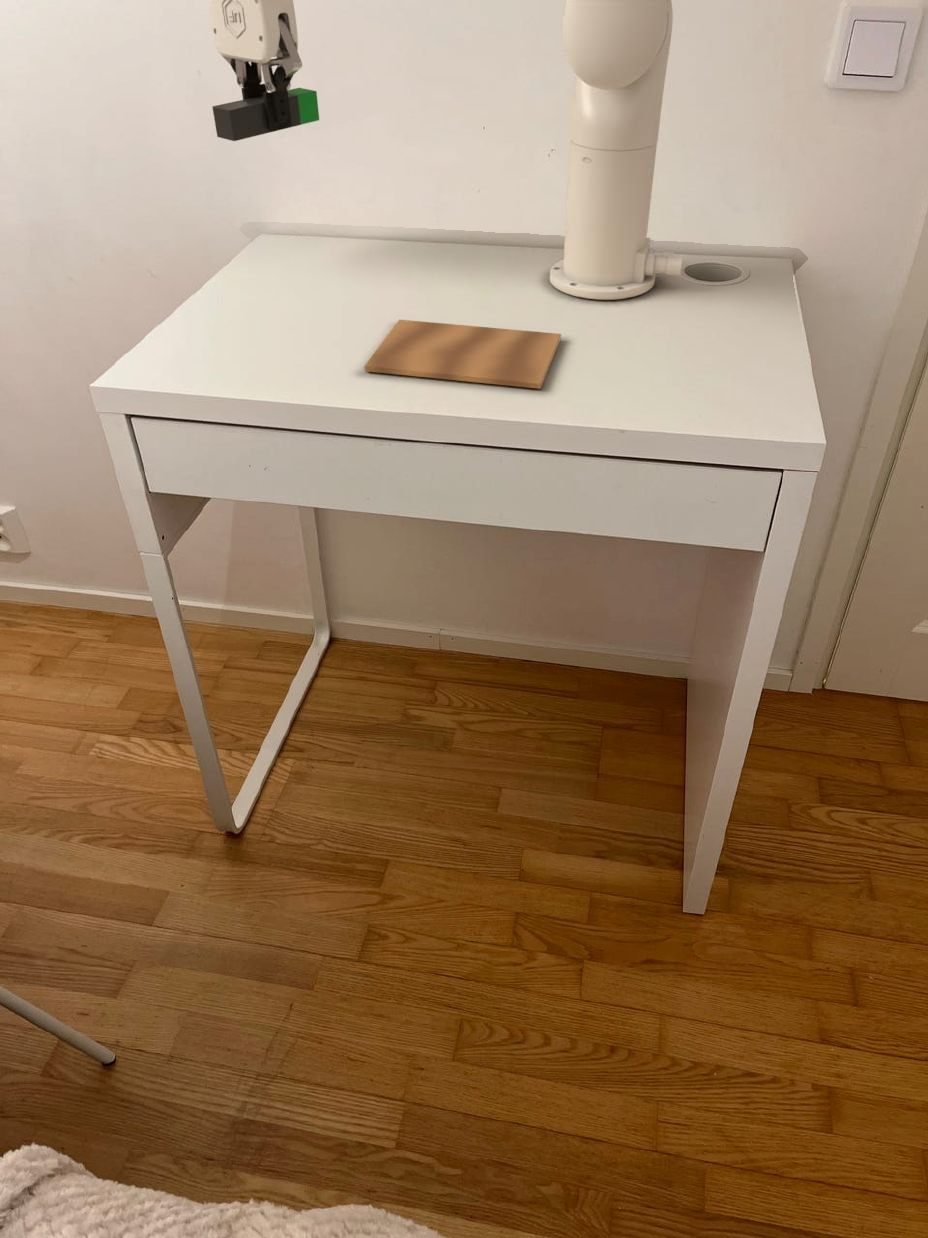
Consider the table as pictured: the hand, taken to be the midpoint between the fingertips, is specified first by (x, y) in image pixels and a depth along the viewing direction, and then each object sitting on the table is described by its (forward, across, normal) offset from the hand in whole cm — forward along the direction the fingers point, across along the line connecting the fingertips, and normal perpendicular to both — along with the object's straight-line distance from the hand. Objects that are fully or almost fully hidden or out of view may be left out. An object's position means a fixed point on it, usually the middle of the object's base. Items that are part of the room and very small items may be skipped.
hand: (269, 124), depth 111 cm
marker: (0, 0, 0) cm, 0 cm away
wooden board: (+15, +38, -8) cm, 42 cm away
